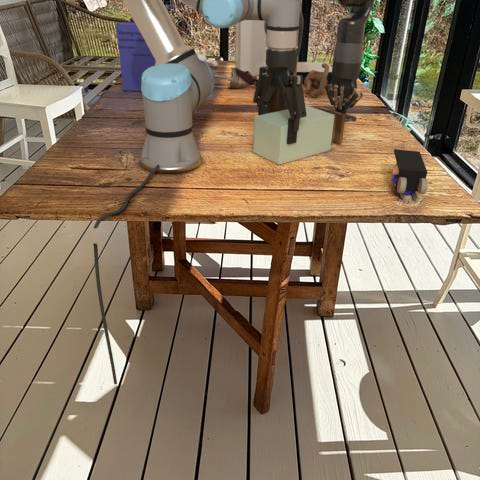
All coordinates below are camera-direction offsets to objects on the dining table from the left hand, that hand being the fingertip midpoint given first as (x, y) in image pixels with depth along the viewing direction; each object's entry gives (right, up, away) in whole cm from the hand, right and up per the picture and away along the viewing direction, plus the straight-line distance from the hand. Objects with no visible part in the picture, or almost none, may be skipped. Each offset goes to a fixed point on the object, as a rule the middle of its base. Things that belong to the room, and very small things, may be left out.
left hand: (276, 136), depth 126 cm
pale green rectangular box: (+5, -3, +6) cm, 8 cm away
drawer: (+12, +1, +10) cm, 15 cm away
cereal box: (-46, +32, +61) cm, 83 cm away
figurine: (-7, +34, +66) cm, 75 cm away
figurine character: (+29, -16, -15) cm, 36 cm away
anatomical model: (+19, +30, +60) cm, 69 cm away
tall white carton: (-4, +49, +92) cm, 104 cm away
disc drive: (+21, +43, +82) cm, 95 cm away
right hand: (+19, +7, +12) cm, 24 cm away
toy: (-35, +54, +99) cm, 118 cm away
